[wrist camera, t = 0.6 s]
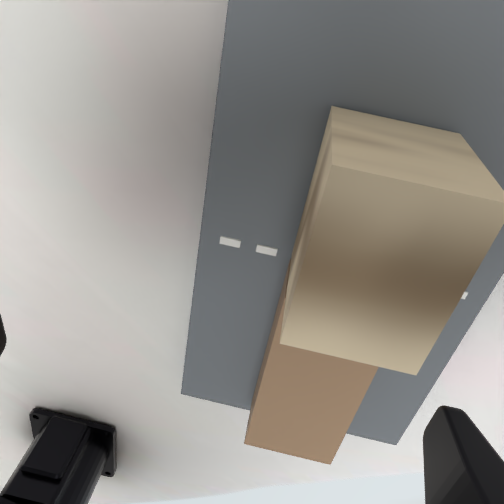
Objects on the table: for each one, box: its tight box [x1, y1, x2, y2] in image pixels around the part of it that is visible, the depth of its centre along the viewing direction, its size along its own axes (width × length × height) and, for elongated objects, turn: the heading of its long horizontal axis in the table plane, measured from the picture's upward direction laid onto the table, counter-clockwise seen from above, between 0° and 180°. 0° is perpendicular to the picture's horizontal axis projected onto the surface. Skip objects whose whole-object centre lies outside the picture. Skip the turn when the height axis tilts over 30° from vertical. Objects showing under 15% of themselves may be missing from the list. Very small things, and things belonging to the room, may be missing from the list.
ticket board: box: [181, 0, 504, 464], centre depth 20 cm, size 24×14×4 cm, turn 170°
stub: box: [280, 106, 504, 375], centre depth 16 cm, size 7×5×6 cm
